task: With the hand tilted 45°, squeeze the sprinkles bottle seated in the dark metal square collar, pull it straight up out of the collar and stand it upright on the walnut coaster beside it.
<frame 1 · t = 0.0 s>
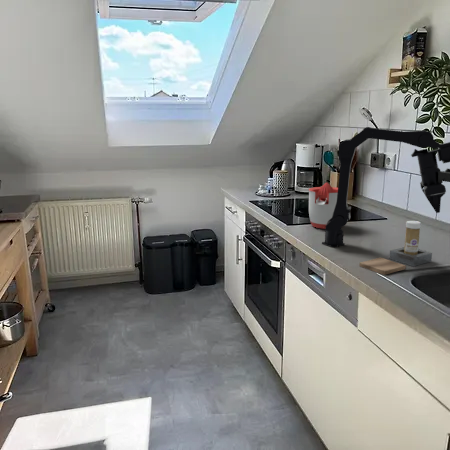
hand: (436, 210, 150), 15 cm above the counter, tool pointing down, fingers open, 9 cm apart
square collar: (410, 260, 145), on the counter
walnut coaster: (382, 267, 139), on the counter
citrus juicer: (324, 227, 193), on the counter
sprinkles bottle: (410, 260, 145), resting in square collar
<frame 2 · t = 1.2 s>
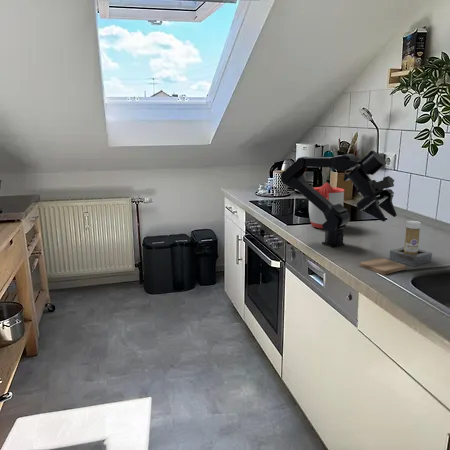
hand: (390, 218, 148), 13 cm above the counter, tool tilted 45°, fingers open, 9 cm apart
nothing on the counter moved.
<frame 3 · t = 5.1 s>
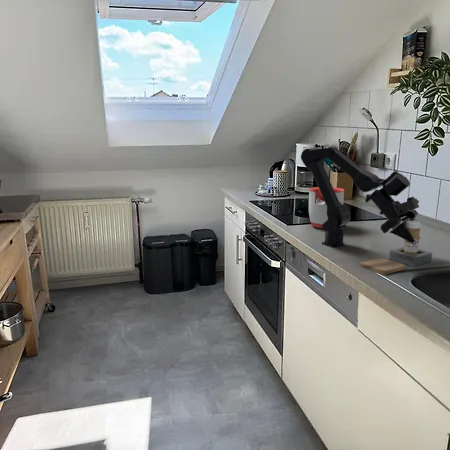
hand: (416, 240, 143), 7 cm above the counter, tool tilted 45°, fingers closed on sprinkles bottle, 4 cm apart
sprinkles bottle: (410, 260, 145), resting in square collar, touching gripper
everything else where it was.
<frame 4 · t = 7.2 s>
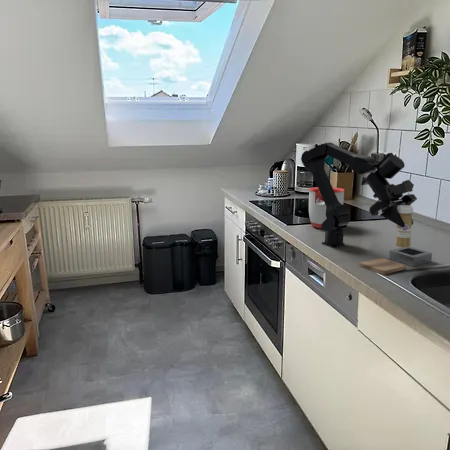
hand: (408, 225, 138), 13 cm above the counter, tool tilted 45°, fingers closed on sprinkles bottle, 4 cm apart
sprinkles bottle: (403, 246, 141), point 6 cm above the counter, touching gripper
everything else where it was.
when the fingers open (9 cm above the counter, at t = 9.5 s): sprinkles bottle drops 1 cm, resting on walnut coaster.
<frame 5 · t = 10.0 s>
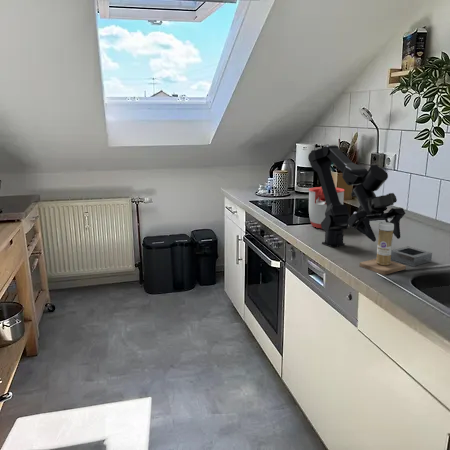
hand: (387, 239, 135), 10 cm above the counter, tool tilted 45°, fingers open, 9 cm apart
sprinkles bottle: (383, 264, 139), point 1 cm above the counter, touching walnut coaster
everything else where it was.
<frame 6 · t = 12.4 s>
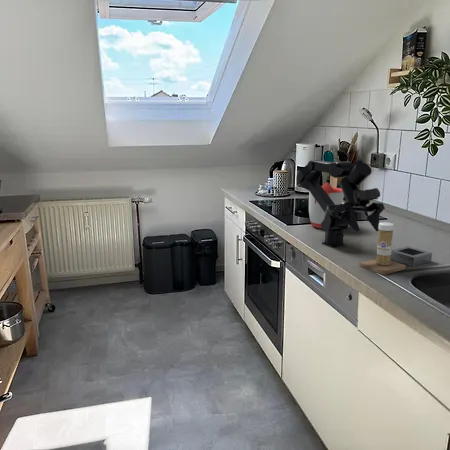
hand: (368, 231, 144), 10 cm above the counter, tool tilted 40°, fingers open, 9 cm apart
nothing on the counter moved.
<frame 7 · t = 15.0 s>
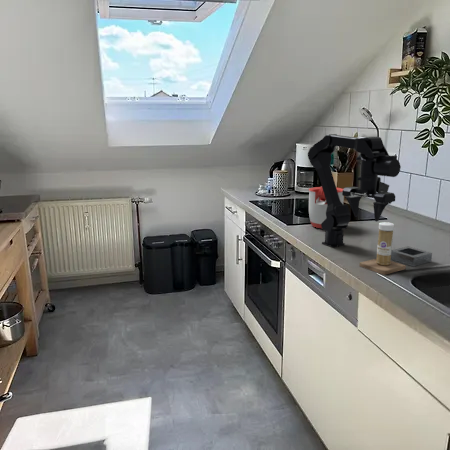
hand: (366, 218, 149), 13 cm above the counter, tool pointing down, fingers open, 9 cm apart
nothing on the counter moved.
at the end: sprinkles bottle 0.5 cm off-centre on the walnut coaster, point 1.0 cm above the walnut coaster's base; sprinkles bottle tilted 0°; the gripper is holding nothing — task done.
